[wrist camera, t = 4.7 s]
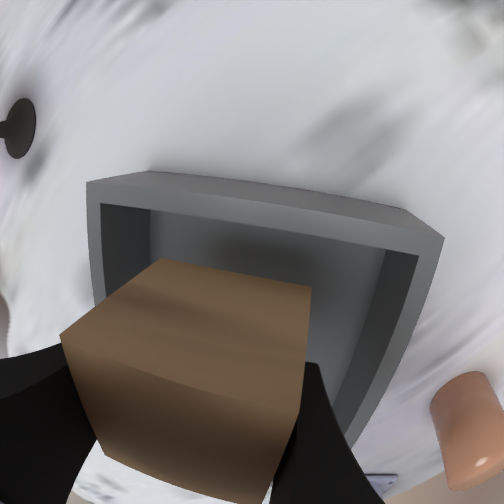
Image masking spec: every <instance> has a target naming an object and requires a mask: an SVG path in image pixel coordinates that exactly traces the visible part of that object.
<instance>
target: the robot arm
mask: <svg viewBox="0 0 504 504" xmlns="http://www.w3.org/2000/svg"><path fill="white" fill-rule="evenodd" d="M96 440H97V437H96V435H95V433H94V431H93V429H92V427H91V424H90V422H89V420H88V417H87V415H86V412H85V410H84V408H83V405H82V403H81V400H80V397H79V395H78V392H77V389H76V387H75V384H74V381H73V378H72V375H71V372H70V369H69V366H68V363H67V360H66V357H65V353H64V350H63V346H62V343H59V344H56V345H54V346H51V347H48V348H45V349H42V350H39V351H35V352H32V353H28V354H24V355H20V356H16V357H11V358H4V359H0V504H66V502H67V499H68V496H69V494H70V491H71V489H72V487H73V484H74V482H75V480H76V478H77V476H78V473H79V471H80V469H81V467H82V465H83V463H84V461H85V460H86V458H87V456H88V454H89V452H90V451H91V449H92V447H93V445H94V443H95V442H96ZM397 480H398V476H396V475H393V476H365V474H364V472H363V471H362V469H361V467H360V466H359V464H358V462H357V461H356V459H355V457H354V455H353V453H352V451H351V449H350V447H349V445H348V443H347V441H346V439H345V437H344V435H343V433H342V431H341V428H340V426H339V424H338V421H337V419H336V416H335V414H334V411H333V409H332V406H331V404H330V401H329V398H328V395H327V392H326V389H325V386H324V382H323V379H322V375H321V371H320V367H319V365H318V364H317V363H312V362H306V361H305V368H304V377H303V386H302V394H301V402H300V409H299V414H298V416H297V419H296V422H295V425H294V427H293V430H292V433H291V435H290V438H289V440H288V443H287V446H286V448H285V451H284V453H283V456H282V458H281V461H280V463H279V465H278V468H277V470H276V473H275V475H274V477H273V484H272V491H271V497H270V502H269V504H385V503H384V501H383V494H384V493H385V492H386V491H387V490H388V489H389V488H390V487H391V486H392V485H393V484H394V483H395V482H396V481H397Z"/></svg>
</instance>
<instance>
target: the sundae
mask: <svg viewBox="0 0 504 504" xmlns="http://www.w3.org/2000/svg"><path fill="white" fill-rule="evenodd" d="M34 131H35V111H34V107H33V105H32V103H31V102H30V100H28V99H27V98H22V99H19V100H18V101H17V102H16V103H15V104H14V105H13V106H12V108H11V110H10V111H9V114H8V116H7V119H6V120H5V121H2V122H0V138H4V139H5V145H6V148H7V151H8V153H9V155H10V156H11V157H13V158H15V159H19V158H21V157H23V156H24V155H25V153H26V152H27V151H28V149H29V147H30V145H31V143H32V140H33V136H34Z"/></svg>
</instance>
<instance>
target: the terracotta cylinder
mask: <svg viewBox="0 0 504 504" xmlns="http://www.w3.org/2000/svg"><path fill="white" fill-rule="evenodd" d="M430 413H431V416H432V419H433V423H434V427H435V430H436V434H437V438H438V442H439V446H440V450H441V454H442V458H443V463H444V467H445V472H446V477H447V481H448V487H449V489H451V490H454V491H458V490H464V489H468V488H472V487H474V486H477V485H479V484H481V483H483V482H485V481H487V480H489V479H490V478H492V477H494V476H495V475H497V474H498V473H500V472H501V471H502V470H504V410H503V408H502V406H501V404H500V402H499V400H498V398H497V396H496V394H495V392H494V390H493V388H492V386H491V384H490V382H489V381H488V379H487V377H486V376H485V375H484V374H483V373H481V372H476V371H475V372H468V373H464V374H462V375H459V376H457V377H455V378H454V379H452V380H450V381H449V382H448V383H446V384H445V385H444V386H443V387H442V388H441V389H440V390H439V391H438V392H437V393H436V394H435V396H434V397H433V399H432V401H431V404H430Z"/></svg>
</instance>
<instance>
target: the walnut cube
mask: <svg viewBox="0 0 504 504" xmlns="http://www.w3.org/2000/svg"><path fill="white" fill-rule="evenodd" d="M311 290H312V287H310V286H305V285H299V284H294V283H288V282H283V281H277V280H272V279H267V278H262V277H256V276H251V275H246V274H241V273H236V272H230V271H225V270H220V269H215V268H210V267H205V266H200V265H195V264H191V263H186V262H181V261H176V260H171V259H166V258H160V259H159V260H157V261H156V262H155V263H153V264H152V265H150V266H149V267H148V268H146V269H145V270H144V271H142V272H141V273H139V274H138V275H137V276H135V277H134V278H133V279H131V280H130V281H129V282H127V283H126V284H124V285H123V286H122V287H120V288H119V289H118V290H116V291H115V292H114V293H112V294H111V295H110V296H108V297H107V298H106V299H105V300H103V301H102V302H101V303H99V304H98V305H97V306H95V307H94V308H93V309H91V310H90V311H89V312H88V313H86V314H85V315H84V316H82V317H81V318H80V319H79V320H77V321H76V322H75V323H74V324H72V325H71V326H70V327H68V328H67V329H66V330H65V331H63V332H62V333H61V334H60V335H59V336H60V339H61V343H62V346H63V350H64V353H65V357H66V360H67V363H68V366H69V369H70V372H71V375H72V378H73V381H74V384H75V387H76V389H77V392H78V395H79V397H80V400H81V403H82V405H83V408H84V410H85V412H86V415H87V417H88V420H89V422H90V424H91V427H92V429H93V431H94V433H95V435H96V437H97V440H98V442H99V444H100V446H101V448H102V450H103V452H104V454H105V455H106V456H108V457H110V458H112V459H114V460H116V461H118V462H120V463H122V464H124V465H126V466H128V467H131V468H133V469H135V470H137V471H140V472H142V473H144V474H147V475H149V476H151V477H154V478H156V479H159V480H162V481H164V482H167V483H170V484H172V485H175V486H178V487H181V488H184V489H187V490H190V491H193V492H196V493H200V494H203V495H206V496H210V497H213V498H217V499H221V500H225V501H229V502H233V503H237V504H262V502H263V500H264V498H265V495H266V493H267V491H268V489H269V486H270V484H271V482H272V480H273V477H274V475H275V473H276V470H277V468H278V465H279V463H280V461H281V458H282V456H283V453H284V451H285V448H286V446H287V443H288V440H289V438H290V435H291V433H292V430H293V427H294V425H295V422H296V419H297V416H298V414H299V409H300V402H301V394H302V386H303V377H304V368H305V359H306V349H307V339H308V328H309V317H310V304H311Z"/></svg>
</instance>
